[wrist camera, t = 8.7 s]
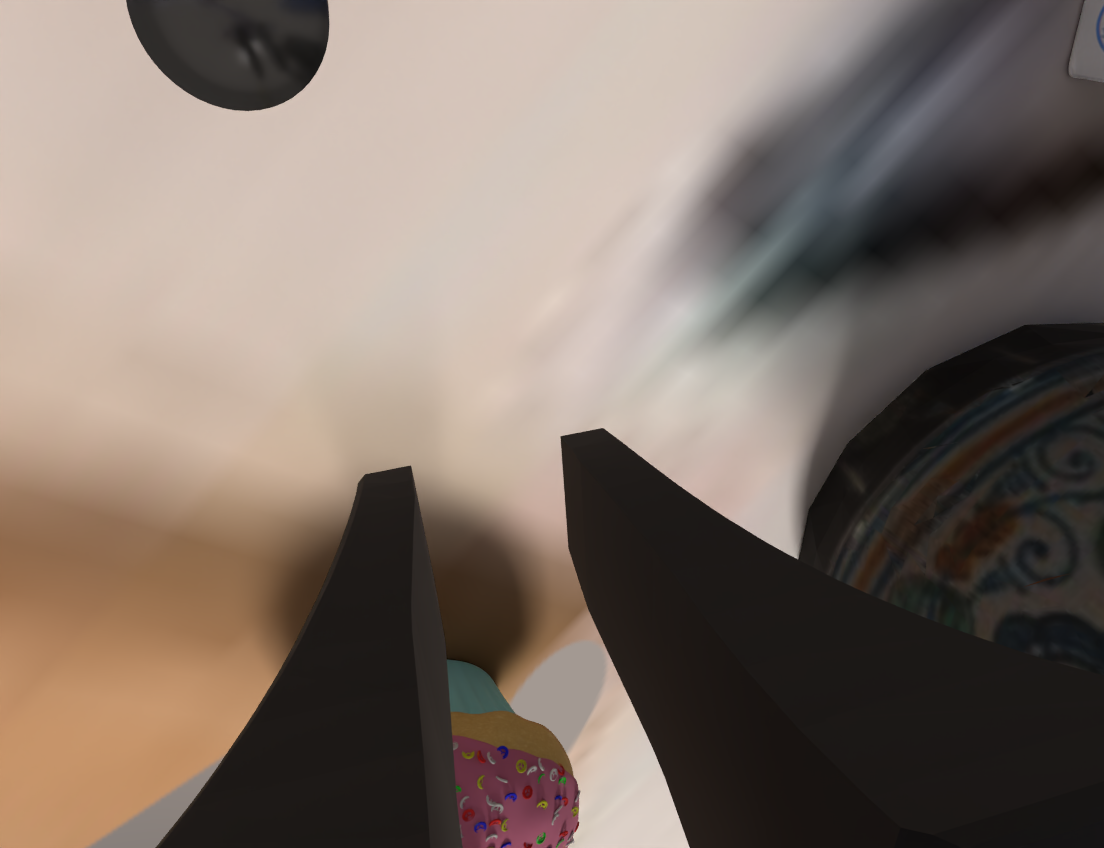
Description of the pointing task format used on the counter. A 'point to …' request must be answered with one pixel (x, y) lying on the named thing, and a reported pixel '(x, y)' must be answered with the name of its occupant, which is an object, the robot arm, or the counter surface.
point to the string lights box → (1089, 43)
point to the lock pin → (235, 47)
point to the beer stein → (983, 496)
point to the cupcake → (507, 770)
